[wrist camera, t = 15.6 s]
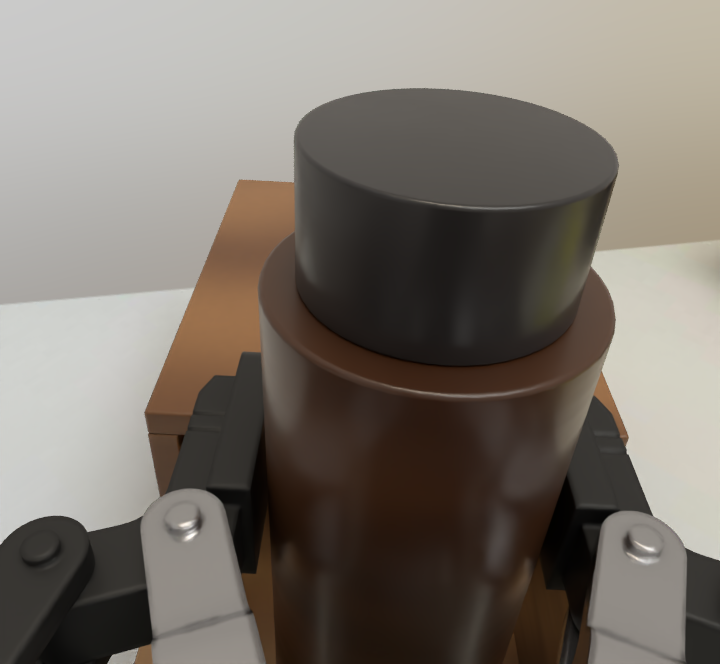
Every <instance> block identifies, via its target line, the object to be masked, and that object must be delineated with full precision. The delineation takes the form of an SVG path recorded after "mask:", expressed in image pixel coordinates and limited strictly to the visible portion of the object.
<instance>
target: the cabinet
mask: <svg viewBox="0 0 720 664" xmlns="http://www.w3.org/2000/svg"><path fill="white" fill-rule="evenodd" d="M293 231H295V200H294V183H292V182H273V181H256V180H255V181H254V180H239V181H238V183H237V186H236V188H235V191H234V193H233V196H232V198H231V200H230V203H229V205H228V208H227V210H226V213H225V215H224V218H223V221H222V223H221V225H220V228H219V230H218V233H217V235H216V238H215V240H214V243H213V245H212V247H211V250H210V252H209V255H208V257H207V260H206V262H205V265H204V267H203V270H202V272H201V274H200V277H199V279H198V282H197V284H196V287H195V289H194V292H193V294H192V297H191V299H190V302H189V304H188V307H187V309H186V311H185V314H184V316H183V319H182V321H181V324H180V326H179V329H178V331H177V334H176V336H175V339H174V341H173V344H172V346H171V348H170V351H169V353H168V356H167V358H166V361H165V363H164V366H163V368H162V371H161V373H160V376H159V378H158V381H157V383H156V385H155V388H154V390H153V393H152V395H151V398H150V400H149V403H148V405H147V408H146V410H145V418H146V423H147V428H148V432H149V434H148V437H149V442H150V447H151V452H152V458H153V463H154V468H155V473H156V478H157V483H158V489H159V494H160V497H162V496H163V495H165V493H166V491H167V489H168V486H169V483H170V479H171V476H172V473H173V470H174V467H175V464H176V461H177V458H178V455H179V452H180V449H181V446H182V442H183V439H184V436H185V433H186V431H187V429H188V424H189V421H190V418H191V415H192V414H193V408H194V405H195V402H196V399H197V396H198V393H199V391H200V390H201V389H202V388H203V387H204V386H205V385H206V384H207V383H208V382H209V381H210V380H211V379H212V377H213V376H214V375H224V376H235V375H236V371H237V368H238V364H239V360H240V357H241V354H242V352H243V351H244V352H261V345H260V325H259V305H258V282H259V275H260V273H261V270H262V268H263V265H264V263H265V261H266V259H267V257H268V256H269V254H270V253H271V251H272V250H273V249H274V248H275V247H276V246H277V245H278V244H279V243H280V242H281V241H282V240H283V239H284V238H285V237H287V236H288V235H289V234H291V233H292V232H293ZM593 395H595V396H596V397H597V398H598V399H599V400H600V402H601V403H602V404H603V405H604V406H605V407H606V408H607V409H608V410H609V411H610V412H611V413H612V415H613V417H614V420H615V422H616V425H617V427H618V430H619V432H620V438H622V440H623V442H624V445H625V446H626V444H627V441H628V438H629V437H628V434H627V432H626V429H625V427H624V424H623V422H622V419H621V417H620V415H619V412H618V410H617V407H616V405H615V402H614V400H613V398H612V395H611V393H610V390H609V388H608V385H607V383H606V381H605V378H604V376H603V373H602V371H601V374H600V377H599V380H598V383H597V386H596V388H595V391H594V394H593Z"/></svg>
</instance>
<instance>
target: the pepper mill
mask: <svg viewBox="0 0 720 664" xmlns="http://www.w3.org/2000/svg"><path fill="white" fill-rule="evenodd" d="M618 167H619V164H618V159H617V155H616V153H615V151H614V149H613V147H612V146H611V145H610V144H609V143H608V141H607V140H606V139H605V138H603V137H602V136H601V135H600V134H598V133H597V132H596V131H594V130H593V129H591V128H590V127H588V126H586V125H585V124H583V123H581V122H579V121H577V120H575V119H573V118H571V117H568V116H566V115H564V114H561V113H559V112H556V111H553V110H550V109H548V108H545V107H542V106H538V105H535V104H532V103H528V102H524V101H520V100H516V99H512V98H507V97H502V96H496V95H491V94H484V93H478V92H470V91H461V90H449V89H428V88H426V89H425V88H422V89H421V88H417V89H416V88H413V89H411V88H410V89H392V90H380V91H372V92H366V93H360V94H355V95H351V96H347V97H343V98H340V99H336V100H333V101H330V102H328V103H325V104H323V105H321V106H319V107H317V108H315V109H313V110H312V111H310V112H309V113H308V114H306V115H305V116H304V117H303V118H302V120H301V121H300V122H299V124H298V126H297V128H296V130H295V135H294V200H295V231H293V232H292V233H291V234H289V235H288V236H287V237H285V238H284V239H283V240H282V241H281V242H280V243H279V244H278V245H277V246H276V247H275V248H274V249H273V250H272V251H271V253H270V254H269V256H268V257H267V259H266V261H265V263H264V265H263V268H262V270H261V273H260V275H259V282H258V305H259V325H260V345H261V365H262V385H263V406H264V426H265V446H266V466H267V486H268V506H269V527H270V547H271V567H272V587H273V607H274V627H275V648H276V664H503V661H504V658H505V655H506V652H507V649H508V646H509V643H510V640H511V637H512V634H513V631H514V628H515V625H516V622H517V619H518V616H519V613H520V610H521V607H522V604H523V601H524V598H525V596H526V593H527V590H528V587H529V584H530V581H531V578H532V575H533V572H534V569H535V566H536V563H537V560H538V557H539V554H540V551H541V548H542V545H543V542H544V539H545V536H546V533H547V530H548V527H549V525H550V522H551V519H552V516H553V513H554V510H555V507H556V504H557V501H558V498H559V495H560V492H561V489H562V486H563V483H564V480H565V477H566V474H567V471H568V468H569V465H570V462H571V459H572V457H573V454H574V451H575V448H576V445H577V442H578V439H579V436H580V433H581V430H582V427H583V424H584V421H585V418H586V415H587V412H588V409H589V406H590V403H591V400H592V397H593V394H594V391H595V388H596V386H597V383H598V380H599V377H600V374H601V371H602V368H603V365H604V362H605V359H606V356H607V353H608V350H609V347H610V344H611V341H612V338H613V335H614V331H615V321H616V319H615V312H614V305H613V301H612V299H611V296H610V293H609V291H608V289H607V287H606V286H605V284H604V282H603V281H602V279H601V278H600V277H599V275H598V274H597V273H596V272H595V271H594V270H593V268H592V267H591V263H592V260H593V257H594V253H595V250H596V246H597V243H598V239H599V236H600V233H601V229H602V226H603V222H604V219H605V215H606V212H607V208H608V205H609V202H610V198H611V194H612V191H613V188H614V184H615V181H616V177H617V174H618Z"/></svg>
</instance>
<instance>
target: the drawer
mask: <svg viewBox="0 0 720 664" xmlns="http://www.w3.org/2000/svg"><path fill="white" fill-rule="evenodd" d="M241 577H242V581H243V585H244V589H245V593H246V598H247V602H248V605H249V608H250V610H252V611H253V614H254V617H255V620H256V624H257V628H258V632H259V636H260V640H261V644H262V648H263V652H264V656H265V660H266V664H276V648H275V627H274V607H273V587H272V567H271V547H270V527H269V506H268V507H267V512H266V518H265V524H264V530H263V536H262V542H261V548H260V554H259V560H258V566H257V572H256V574H247V573H242V576H241ZM568 606H569V604H568V600H567V596H566V591H565V590H548V589H546V586H545V581H544V577H543V572H542V568H541V563H540V559H539V557H538V560H537V563H536V566H535V569H534V572H533V575H532V578H531V581H530V584H529V587H528V590H527V593H526V596H525V598H524V601H523V604H522V607H521V610H520V613H519V616H518V619H517V622H516V625H515V628H514V631H513V634H512V637H511V640H510V643H509V646H508V649H507V652H506V655H505V658H504V661H503V664H556V659H557V654H558V648H559V643H560V637H561V632H562V626H563V620H564V617H565V614H566V611H567V609H568ZM134 664H153V660H152V650H151V644H150V645H146V646H142V647H139V649H138V652H137V656H136V659H135V663H134Z"/></svg>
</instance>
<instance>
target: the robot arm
mask: <svg viewBox="0 0 720 664" xmlns="http://www.w3.org/2000/svg"><path fill="white" fill-rule="evenodd" d="M626 451H627V450H626V447H625V445H624V442H623V440H622V438H620V432H619V430H618V427H617V425H616V422H615V420H614V417H613V415H612V413H611V412H610V411H609V410H608V409H607V408H606V407H605V406H604V405H603V404H602V403H601V402H600V400H599V399H598V398H597V397H596V396H595V395H593V397H592V400H591V403H590V406H589V409H588V412H587V415H586V418H585V421H584V424H583V427H582V430H581V433H580V436H579V439H578V442H577V445H576V448H575V451H574V454H573V457H572V459H571V462H570V465H569V468H568V471H567V474H566V477H565V480H564V483H563V486H562V489H561V492H560V495H559V498H558V501H557V504H556V507H555V510H554V513H553V516H552V519H551V522H550V525H549V527H548V530H547V533H546V536H545V539H544V542H543V545H542V548H541V551H540V554H539V559H540V563H541V568H542V572H543V577H544V581H545V586H546V589H548V590H565V591H566V596H567V600H568V604H569V606H568V609H567V611H566V614H565V617H564V620H563V626H562V632H561V637H560V643H559V648H558V654H557V659H556V664H720V561H719V560H715V559H712V558H709V557H706V556H703V555H700V554H698V553H695V552H693V551H691V550H689V549H687V548H685V547H684V545H683V543H682V541H681V539H680V538H679V536H678V535H677V534H676V533H675V532H674V531H673V530H672V529H671V528H670V527H669V526H668V525H667V524H665V523H664V522H662V521H661V520H659V519H657V518H655V517H653V515H652V512H651V510H650V507H649V505H648V502H647V500H646V497H645V495H644V492H643V490H642V487H641V485H640V482H639V480H638V477H637V475H636V472H635V470H634V467H633V465H632V462H631V460H630V457H629V455H627V453H626ZM267 507H268V486H267V466H266V446H265V426H264V406H263V385H262V365H261V352H244V351H243V352H242V354H241V357H240V360H239V364H238V368H237V371H236V375H235V376H224V375H214V376H213V377H212V379H211V380H210V381H209V382H208V383H207V384H206V385H205V386H204V387H203V388H202V389H201V390H200V391H199V393H198V396H197V399H196V402H195V405H194V408H193V414H192V415H191V418H190V421H189V424H188V429H187V431H186V433H185V436H184V439H183V442H182V446H181V449H180V452H179V455H178V458H177V461H176V464H175V467H174V470H173V473H172V476H171V479H170V483H169V486H168V489H167V491H166V493H165V495H163V496H162V497H160V498H158V499H157V500H156V501H155V502H153V503H152V504H151V505H150V507H149V508H148V509H147V510H146V512H145V513H144V516H142V517H140V518H138V519H136V520H134V521H131V522H129V523H126V524H122V525H118V526H114V527H109V528H105V529H100V530H96V531H91V532H87V531H86V529H85V528H84V526H83V525H82V524H80V523H79V522H78V521H76V520H74V519H72V518H69V517H64V516H48V517H43V518H39V519H36V520H33V521H30V522H28V523H26V524H24V525H22V526H21V527H19V528H18V529H16V530H15V531H14V532H13V533H11V534H10V535H9V536H8V537H7V538H6V539H5V540H4V541H3V543H2V544H1V545H0V664H107V663H108V661H109V659H110V658H111V656H112V655H113V654H117V653H121V652H124V651H128V650H132V649H135V648H139V647H142V646H146V645H150V644H151V650H152V660H153V664H266V660H265V656H264V652H263V648H262V644H261V640H260V636H259V632H258V628H257V624H256V620H255V617H254V614H253V611H252V610H250V608H249V605H248V602H247V598H246V593H245V589H244V585H243V581H242V577H241V576H242V573H247V574H256V572H257V566H258V560H259V554H260V548H261V542H262V536H263V530H264V524H265V518H266V512H267Z"/></svg>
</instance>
